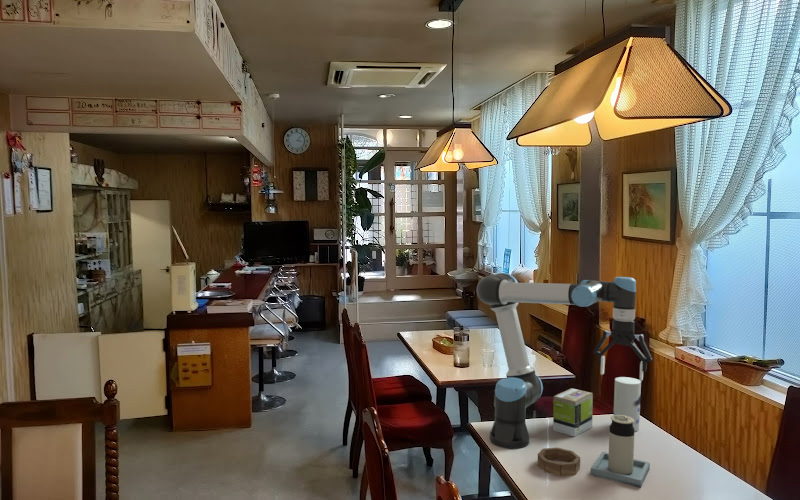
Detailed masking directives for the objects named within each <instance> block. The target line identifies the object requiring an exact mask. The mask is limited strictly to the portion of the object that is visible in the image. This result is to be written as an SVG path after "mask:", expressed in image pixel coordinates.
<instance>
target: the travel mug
mask: <svg viewBox="0 0 800 500" xmlns="http://www.w3.org/2000/svg"><path fill="white" fill-rule="evenodd" d="M610 419H611V423H610V425H609V433H608V434H609V437H608V440H609V441H608V453H609V459H608V468H609V469H610V470H611V471H613V472H615V473H619V474H630V473H632V472H633V459H635V458H634V456H635V454H634V452H635V432H636V431H635V429H634V427H633V422H634V419H633V418H631V417H629V416H625V415H614V414H613V415H612V416H610Z"/></svg>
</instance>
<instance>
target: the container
mask: <svg viewBox="0 0 800 500" xmlns="http://www.w3.org/2000/svg"><path fill="white" fill-rule="evenodd" d="M641 387H642V381H639V379H637V378H634V377H628V376H627V377H626V376H619V377H615V378H614V389H613V390H614V392H613V393H614V395H613V397H614V398H613V415H625V416H629V417H631V418H633V419H634V422H633V427H634V429H635V432H637V431H639V430H640V414H641V413H640V412H641V389H642V388H641Z"/></svg>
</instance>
